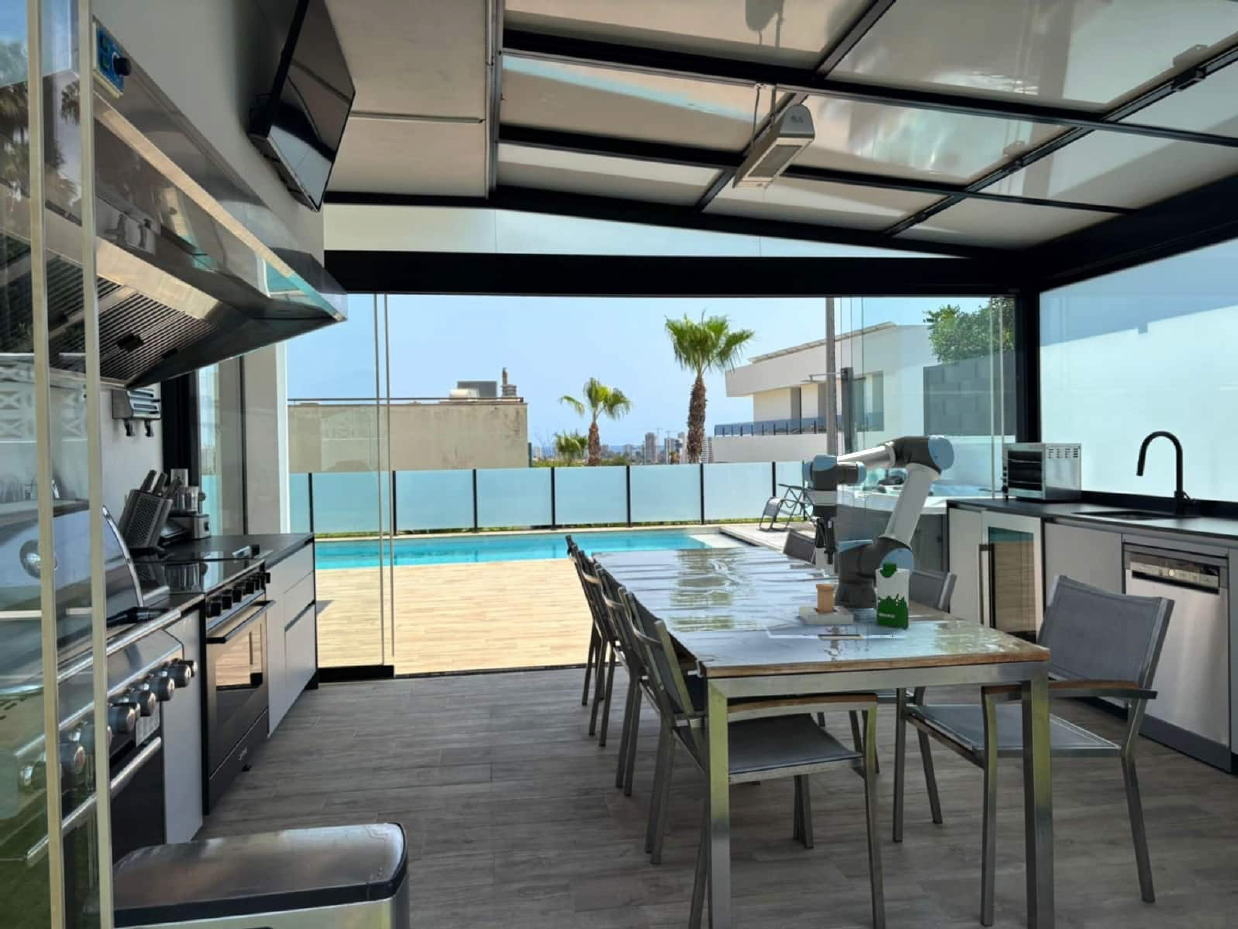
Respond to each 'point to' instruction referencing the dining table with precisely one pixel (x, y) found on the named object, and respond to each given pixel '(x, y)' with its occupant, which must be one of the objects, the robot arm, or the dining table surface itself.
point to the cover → (825, 597)
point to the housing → (826, 616)
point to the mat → (840, 637)
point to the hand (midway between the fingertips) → (824, 571)
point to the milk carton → (892, 596)
